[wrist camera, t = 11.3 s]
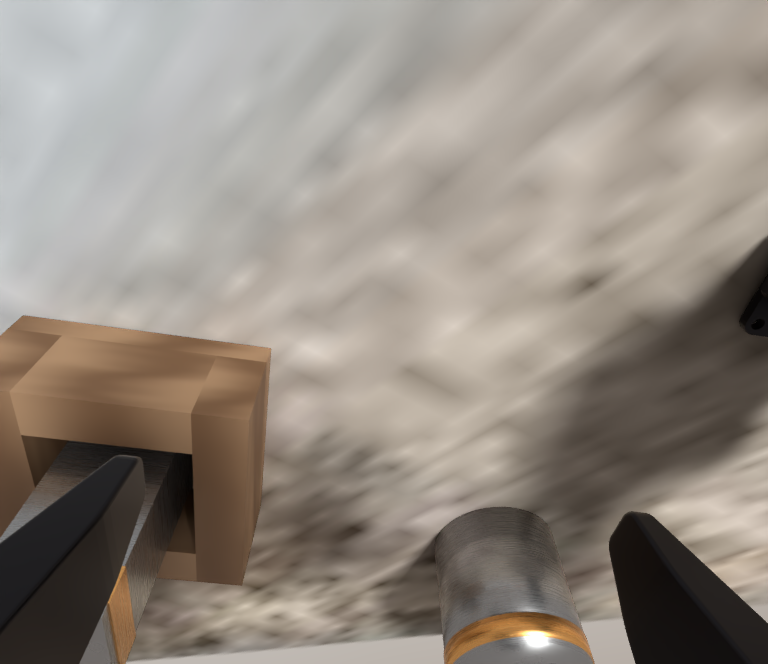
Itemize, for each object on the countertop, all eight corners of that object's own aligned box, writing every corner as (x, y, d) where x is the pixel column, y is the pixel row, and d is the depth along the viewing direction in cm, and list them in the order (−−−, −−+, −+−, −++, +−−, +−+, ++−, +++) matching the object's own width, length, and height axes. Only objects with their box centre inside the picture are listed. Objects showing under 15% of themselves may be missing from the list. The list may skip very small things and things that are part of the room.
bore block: (271, 348, 22) (248, 420, 19) (261, 504, 28) (241, 585, 24) (23, 315, 21) (-54, 384, 18) (61, 483, 27) (8, 564, 23)
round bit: (570, 513, 28) (621, 649, 22) (531, 586, 32) (566, 720, 26) (448, 499, 28) (467, 636, 22) (422, 575, 31) (432, 710, 25)
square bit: (195, 409, 23) (103, 616, 15) (197, 475, 25) (116, 685, 17) (96, 397, 22) (-50, 604, 15) (106, 465, 25) (-16, 675, 17)
